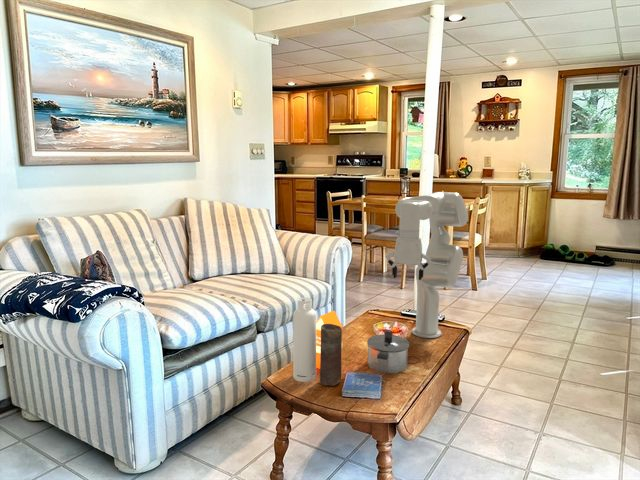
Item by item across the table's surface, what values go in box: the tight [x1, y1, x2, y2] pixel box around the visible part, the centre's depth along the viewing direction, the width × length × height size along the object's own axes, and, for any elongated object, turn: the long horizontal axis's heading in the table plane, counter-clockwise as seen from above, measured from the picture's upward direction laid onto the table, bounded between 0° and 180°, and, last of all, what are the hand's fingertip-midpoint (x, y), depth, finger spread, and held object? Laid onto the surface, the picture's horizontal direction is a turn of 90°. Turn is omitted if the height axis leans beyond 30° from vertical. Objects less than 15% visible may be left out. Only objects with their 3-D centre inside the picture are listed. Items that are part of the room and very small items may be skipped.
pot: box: [367, 345, 409, 374], centre depth 176 cm, size 19×14×8 cm
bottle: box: [292, 297, 317, 383], centre depth 164 cm, size 8×8×28 cm
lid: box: [366, 329, 410, 353], centre depth 175 cm, size 15×15×5 cm
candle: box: [319, 324, 343, 386], centre depth 161 cm, size 8×7×20 cm
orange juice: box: [316, 310, 343, 370], centre depth 175 cm, size 8×9×20 cm
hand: (407, 278), depth 183 cm, fingers open, 9 cm apart
